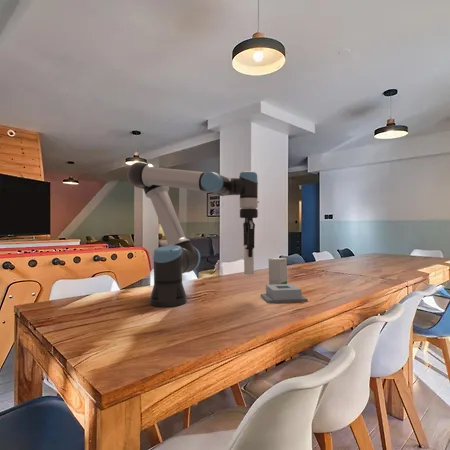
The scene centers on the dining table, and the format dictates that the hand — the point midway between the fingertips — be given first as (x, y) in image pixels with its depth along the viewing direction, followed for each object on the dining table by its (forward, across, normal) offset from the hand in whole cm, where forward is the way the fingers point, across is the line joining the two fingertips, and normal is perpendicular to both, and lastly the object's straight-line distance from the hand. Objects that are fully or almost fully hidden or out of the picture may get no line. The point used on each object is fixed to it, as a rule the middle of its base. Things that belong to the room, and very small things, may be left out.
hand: (248, 264), depth 128 cm
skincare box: (+16, +20, -18) cm, 31 cm away
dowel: (+4, 0, 0) cm, 4 cm away
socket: (+15, +2, -15) cm, 22 cm away
